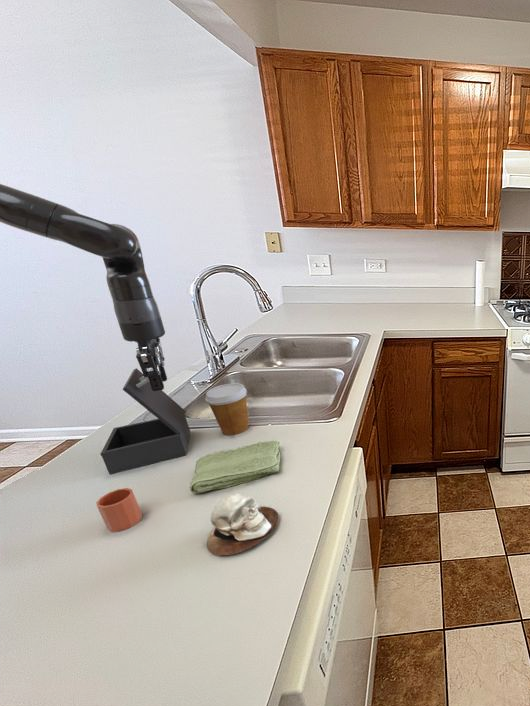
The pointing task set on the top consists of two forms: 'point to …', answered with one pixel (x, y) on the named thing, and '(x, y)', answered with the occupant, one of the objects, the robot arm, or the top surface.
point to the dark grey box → (144, 445)
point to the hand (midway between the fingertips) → (160, 385)
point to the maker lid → (155, 401)
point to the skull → (239, 524)
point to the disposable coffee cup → (229, 407)
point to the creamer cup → (119, 509)
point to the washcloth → (235, 466)
